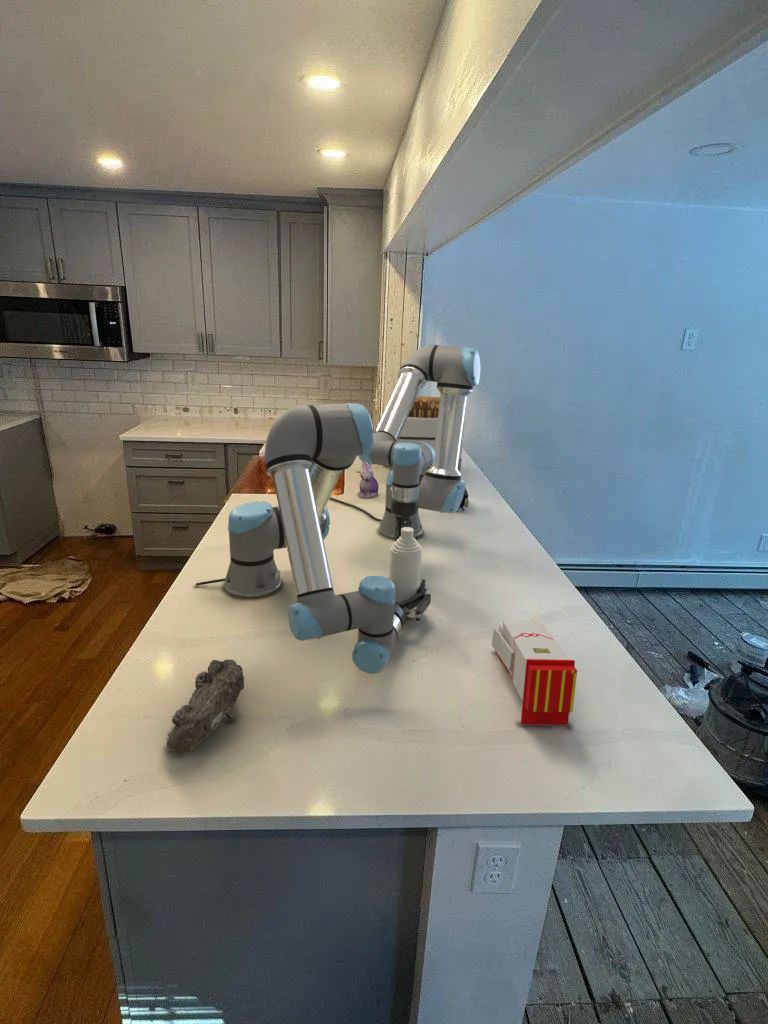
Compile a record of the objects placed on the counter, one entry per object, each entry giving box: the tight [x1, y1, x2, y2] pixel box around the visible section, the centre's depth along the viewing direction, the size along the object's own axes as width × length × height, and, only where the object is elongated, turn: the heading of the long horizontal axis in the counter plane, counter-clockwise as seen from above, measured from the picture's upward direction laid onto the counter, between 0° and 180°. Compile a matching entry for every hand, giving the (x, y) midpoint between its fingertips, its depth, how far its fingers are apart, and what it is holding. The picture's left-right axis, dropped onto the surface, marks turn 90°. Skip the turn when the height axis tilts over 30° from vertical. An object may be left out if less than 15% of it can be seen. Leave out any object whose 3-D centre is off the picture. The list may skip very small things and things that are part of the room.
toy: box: [491, 621, 578, 726], centre depth 121 cm, size 12×13×30 cm
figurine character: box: [458, 486, 470, 512], centre depth 229 cm, size 7×8×15 cm
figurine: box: [358, 461, 380, 499], centre depth 237 cm, size 9×10×15 cm
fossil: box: [166, 658, 245, 754], centre depth 106 cm, size 22×10×15 cm
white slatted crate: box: [386, 395, 465, 474], centre depth 268 cm, size 34×33×41 cm
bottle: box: [388, 527, 423, 619], centre depth 145 cm, size 8×8×23 cm
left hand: (407, 581), depth 151 cm, fingers closed on bottle, 8 cm apart
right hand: (400, 574), depth 166 cm, fingers closed on cap, 4 cm apart
